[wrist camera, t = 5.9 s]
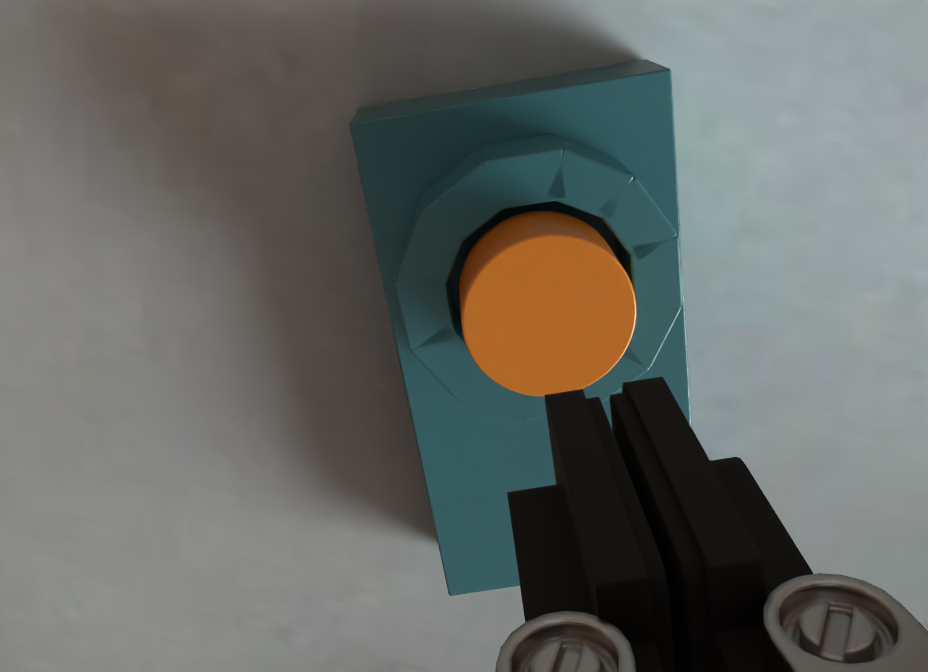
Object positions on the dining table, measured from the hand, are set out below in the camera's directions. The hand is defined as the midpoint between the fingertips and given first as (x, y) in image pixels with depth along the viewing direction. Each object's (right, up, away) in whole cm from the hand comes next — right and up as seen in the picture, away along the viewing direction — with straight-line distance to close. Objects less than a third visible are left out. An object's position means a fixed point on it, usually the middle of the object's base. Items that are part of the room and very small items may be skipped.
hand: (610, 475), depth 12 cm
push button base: (0, +2, +14) cm, 14 cm away
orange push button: (0, +3, +9) cm, 9 cm away
